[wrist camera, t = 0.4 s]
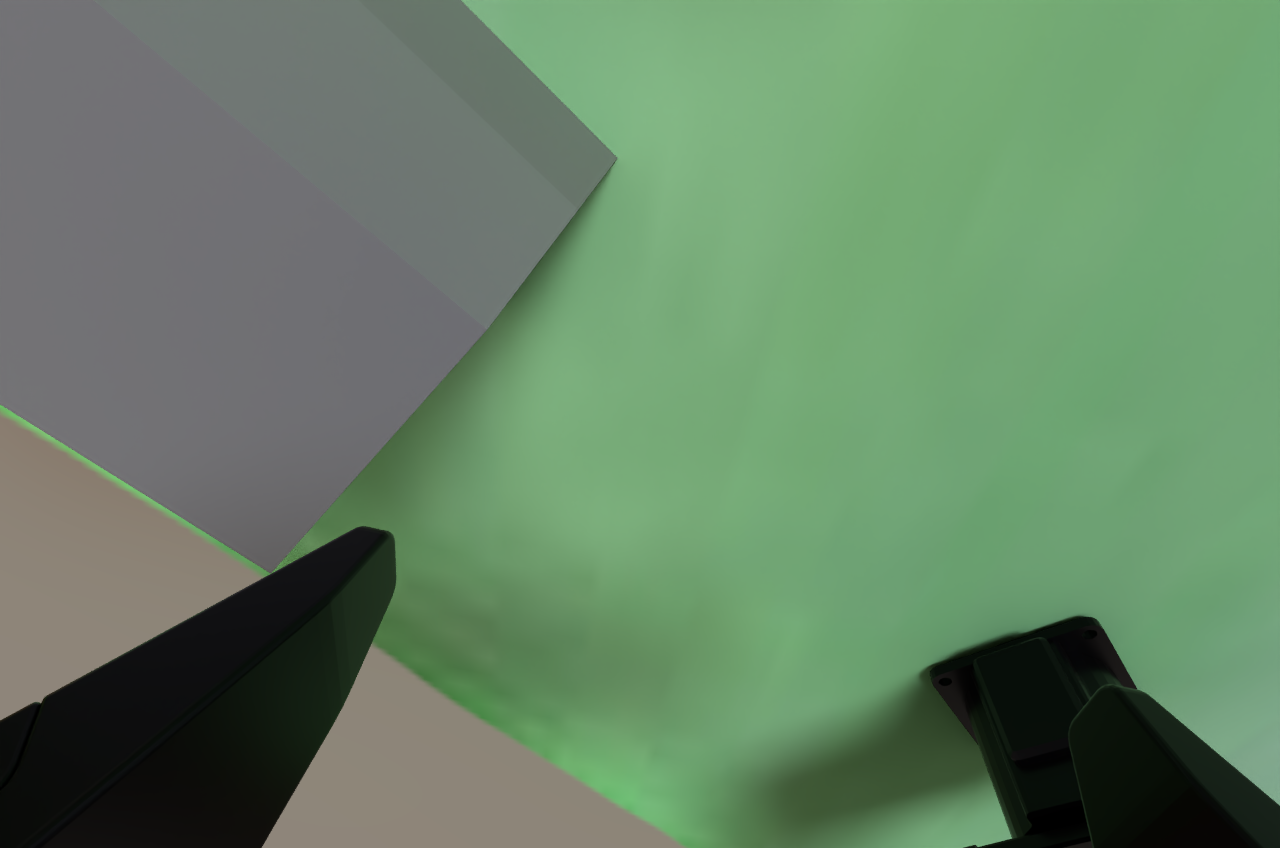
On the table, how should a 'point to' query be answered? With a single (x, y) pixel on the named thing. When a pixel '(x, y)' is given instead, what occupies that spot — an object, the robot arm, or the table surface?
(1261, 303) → the table surface
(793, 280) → the table surface
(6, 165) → the grey block
